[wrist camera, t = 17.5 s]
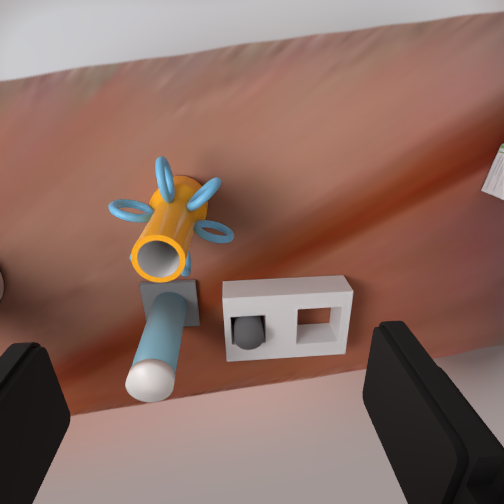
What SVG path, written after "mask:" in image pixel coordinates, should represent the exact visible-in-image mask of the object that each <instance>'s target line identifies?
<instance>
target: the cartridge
mask: <svg viewBox="0 0 504 504" xmlns="http://www.w3.org/2000/svg"><path fill="white" fill-rule="evenodd" d="M186 311H187V303H186V301H185V299H184V298H183V297H182V296H181V295H179V294H177V293H174V292H164V293H161V294H159V295H158V296H157V297H156V298H155V300H154V302H153V305H152V308H151V311H150V314H149V317H148V319H147V322H146V325H145V328H144V331H143V334H142V337H141V340H140V343H139V346H138V349H137V352H136V355H135V358H134V361H133V364H132V367H131V369H130V371H129V374H128V377H127V380H126V389H127V391H128V393H129V394H130V395H131V396H132V397H134V398H135V399H137V400H140V401H143V402H158V401H161V400H164V399H166V398H167V397H168V396H169V395H170V394H171V393H172V391H173V388H174V382H175V373H176V368H177V362H178V356H179V350H180V345H181V339H182V333H183V328H184V322H185V316H186Z"/></svg>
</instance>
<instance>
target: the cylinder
mask: <svg viewBox="0 0 504 504" xmlns="http://www.w3.org/2000/svg"><path fill="white" fill-rule="evenodd" d="M156 178H157V183H158V188H157V190H156V191H155V193H154V194H153V195H152V197H151V200H150V202H149V205H147V204H144V203H142V202H138V201H134V200H126V199H121V200H115V201H113V202H111V203H110V204H109V211H110V212H111V213H112V214H113V215H114V216H116V217H118V218H120V219H123V220H126V221H130V222H148V221H149V222H148V223H147V225H146V227H145V228H144V230H143V232H142V234H141V235H140V237H139V239H138V240H137V242H136V244H135V245H134V247H133V249H132V252H131V255H130V260H131V261H132V265H133V267H134V269H135V270H136V271H137V273H138V274H139V275H141V276H142V277H143V278H145V279H147V280H150V281H153V282H168V281H171V280H173V279H175V278H177V277H178V276H179V275H180V274H182V276H184V277H187V276H189V275H190V272H191V258H190V251H189V246H190V242H191V238H192V235H194V234H195V233H196V234H197V235H198V236H199V237H201V238H203V239H205V240H207V241H210V242H214V243H229V242H231V241H232V240H233V239H234V232H233V231H232V230H231V229H230V228H229V227H227V226H225V225H223V224H221V223H218V222H215V221H210V220H205V219H206V215H207V208H208V200H209V199H210V198H211V197H212V196H213V195H214V194H215V193H216V191H217V190H218V189H219V187H220V186H221V179H220V178H218V177H215V178H213V179H211V180H210V181H208V182H207V183H206V184H205V185H203V186H202V185H201V184H200V183H198V182H197V181H196V180H194V179H192V178H190V177H187V176H172V171H171V168H170V165H169V163H168V161H167V159H166V158H165V157H163V156H160V157H158V158H157V160H156ZM121 207H129V208H135V209H138V210H141V211H144V212H145V213H146V214H133V213H129V212H125V211H123V210H121V209H119V208H121ZM202 228H213V229H216V230H219V231H221V232H223V233H224V234H226V235H215V234H212V233H209V232H207V231H205V230H203V229H202Z"/></svg>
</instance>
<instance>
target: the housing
mask: <svg viewBox="0 0 504 504" xmlns="http://www.w3.org/2000/svg"><path fill="white" fill-rule="evenodd" d="M352 298H353V290H352V288H351V287H350V285H349V283H348V282H347V280H346V279H345V277H344V276H343V275H334V276H315V277H296V278H277V279H258V280H239V281H223V294H222V300H223V314H224V328H225V343H226V357H227V362H229V361H244V360H259V359H275V358H290V357H305V356H320V355H336V354H345V351H346V344H347V336H348V329H349V321H350V314H351V306H352ZM327 307H331V313H330V323H319V324H302V325H297V314H298V309H310V308H327ZM258 315H263V323H262V328H263V335H264V340H263V343H262V344H261V345H260V346H259V347H258V348H256V349H252V350H244V349H241V348H240V347H238V346H237V345H236V343H235V339H234V325H231V317H241V316H258Z"/></svg>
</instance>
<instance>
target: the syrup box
mask: <svg viewBox="0 0 504 504" xmlns="http://www.w3.org/2000/svg"><path fill="white" fill-rule="evenodd" d="M481 191H482V192H485V193H487V194H490V195H492V196H495V197H497V198H499V199H502V200H504V144H502V145H501V146H500V149H499V151H498V153H497V155H496V158H495V160H494V162H493V164H492V166H491V169H490V171H489V173H488V176H487V178H486V180H485V183H484V185H483V187H482V190H481Z"/></svg>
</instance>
